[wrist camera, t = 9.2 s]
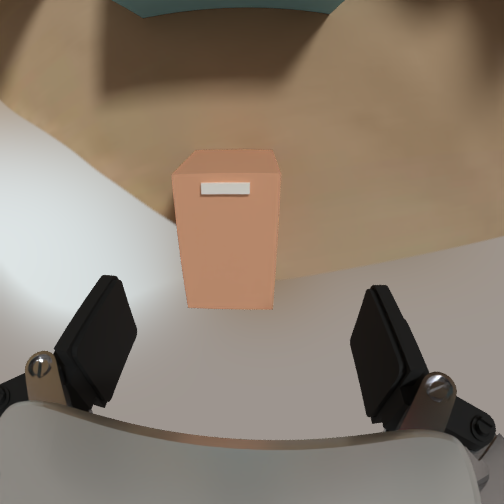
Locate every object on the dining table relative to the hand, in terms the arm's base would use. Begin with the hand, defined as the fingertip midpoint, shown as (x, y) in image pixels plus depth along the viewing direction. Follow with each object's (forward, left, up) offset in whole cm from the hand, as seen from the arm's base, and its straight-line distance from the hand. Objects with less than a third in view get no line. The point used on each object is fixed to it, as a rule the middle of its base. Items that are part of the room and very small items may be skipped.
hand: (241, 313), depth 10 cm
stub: (+1, 0, -11) cm, 11 cm away
